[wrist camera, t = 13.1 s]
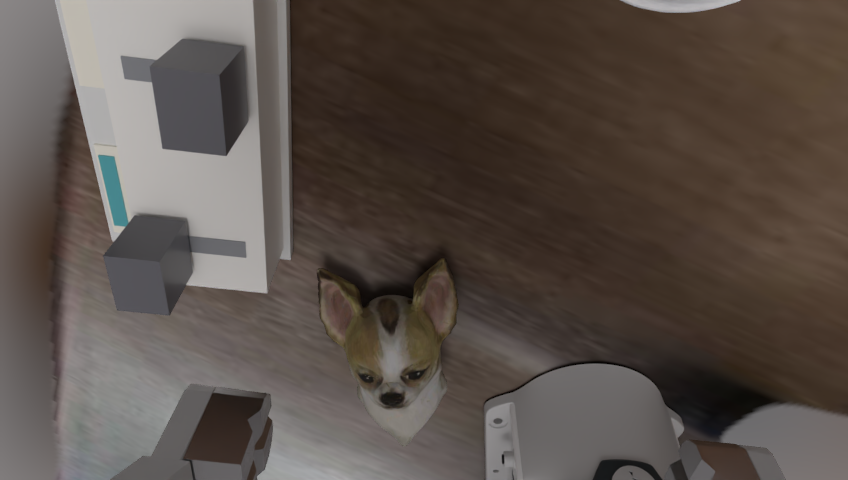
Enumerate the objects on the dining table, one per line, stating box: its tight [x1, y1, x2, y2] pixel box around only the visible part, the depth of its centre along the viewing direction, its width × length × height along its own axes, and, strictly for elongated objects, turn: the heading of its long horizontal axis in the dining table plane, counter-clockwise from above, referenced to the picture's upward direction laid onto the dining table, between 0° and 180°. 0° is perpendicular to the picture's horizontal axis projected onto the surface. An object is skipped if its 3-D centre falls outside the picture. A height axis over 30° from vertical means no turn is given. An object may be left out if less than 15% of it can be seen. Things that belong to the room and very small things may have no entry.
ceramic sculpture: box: [317, 258, 459, 446], centre depth 45 cm, size 11×9×15 cm
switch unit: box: [55, 0, 293, 293], centre depth 32 cm, size 31×13×6 cm, turn 173°
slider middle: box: [149, 39, 249, 156], centre depth 28 cm, size 4×3×4 cm
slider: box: [103, 215, 193, 315], centre depth 34 cm, size 4×3×4 cm
